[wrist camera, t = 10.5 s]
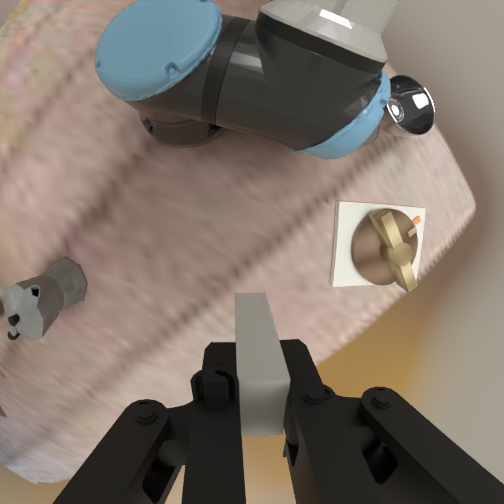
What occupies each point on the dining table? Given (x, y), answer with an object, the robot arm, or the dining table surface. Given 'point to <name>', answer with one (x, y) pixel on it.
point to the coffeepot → (43, 299)
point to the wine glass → (406, 109)
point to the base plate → (345, 228)
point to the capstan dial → (386, 248)
